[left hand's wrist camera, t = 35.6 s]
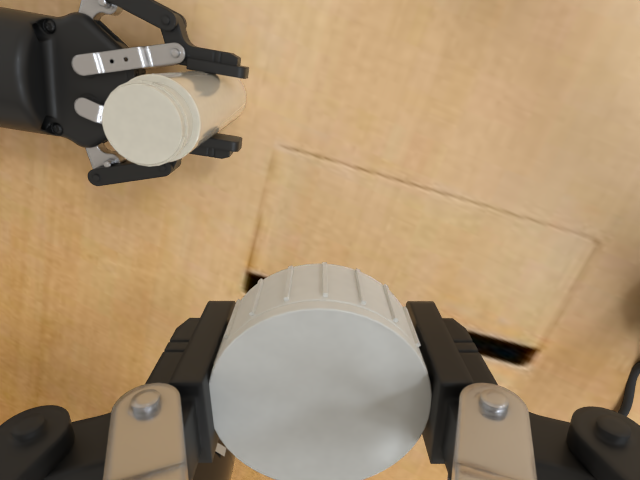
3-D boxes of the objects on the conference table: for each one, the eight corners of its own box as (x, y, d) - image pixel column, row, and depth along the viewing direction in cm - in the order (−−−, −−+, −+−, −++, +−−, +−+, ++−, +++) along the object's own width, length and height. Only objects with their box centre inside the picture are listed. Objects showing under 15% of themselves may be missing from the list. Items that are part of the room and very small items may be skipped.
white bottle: (189, 108, 35) (83, 149, 19) (205, 59, 34) (106, 57, 18) (236, 130, 36) (173, 186, 20) (254, 83, 35) (202, 101, 18)
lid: (434, 273, 11) (462, 320, 9) (394, 428, 12) (409, 498, 10) (230, 248, 10) (208, 291, 8) (220, 411, 12) (200, 478, 10)
